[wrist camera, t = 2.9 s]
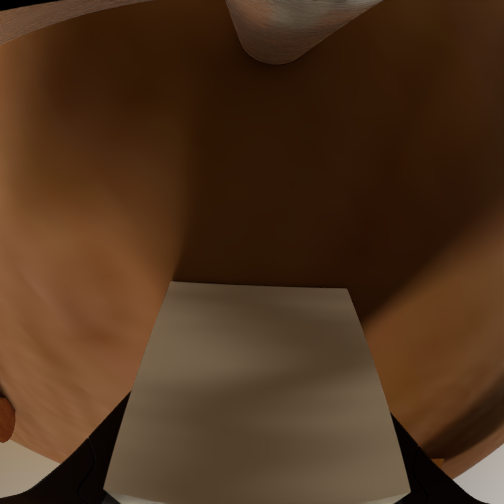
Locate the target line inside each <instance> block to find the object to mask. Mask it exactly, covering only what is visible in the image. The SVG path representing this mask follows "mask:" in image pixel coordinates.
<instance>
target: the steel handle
mask: <svg viewBox="0 0 504 504" xmlns="http://www.w3.org/2000/svg"><path fill="white" fill-rule="evenodd" d="M146 1H153V0H0V45H2V44H4V43H6V42H9V41H11V40H13V39H15V38H18V37H20V36H23V35H25V34H28V33H30V32H33V31H35V30H38V29H41V28H43V27H46V26H49V25H52V24H55V23H58V22H61V21H64V20H67V19H71V18H74V17H78V16H81V15H85V14H88V13H92V12H96V11H100V10H105V9H109V8H114V7H118V6H123V5H129V4H134V3H140V2H146ZM225 1H226V4H227V7H228V9H229V12H230V15H231V18H232V21H233V23H234V26H235V29H236V32H237V35H238V38H239V41H240V43H241V45H242V47H243V49H244V50H245V51H246V52H247V53H248V54H249V55H250V56H251V57H253V58H254V59H256V60H258V61H260V62H263V63H267V64H273V65H279V64H285V63H289V62H292V61H294V60H296V59H297V58H299V57H300V56H302V55H303V54H304V53H306V52H307V51H308V50H310V49H311V48H312V47H314V46H315V45H317V44H318V43H319V42H321V41H322V40H324V39H325V38H326V37H328V36H329V35H331V34H332V33H334V32H335V31H337V30H338V29H340V28H341V27H343V26H344V25H346V24H347V23H349V22H350V21H352V20H353V19H355V18H356V17H358V16H359V15H361V14H363V13H364V12H366V11H367V10H369V9H371V8H372V7H374V6H375V5H377V4H379V3H380V2H382V1H384V0H225Z"/></svg>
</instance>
